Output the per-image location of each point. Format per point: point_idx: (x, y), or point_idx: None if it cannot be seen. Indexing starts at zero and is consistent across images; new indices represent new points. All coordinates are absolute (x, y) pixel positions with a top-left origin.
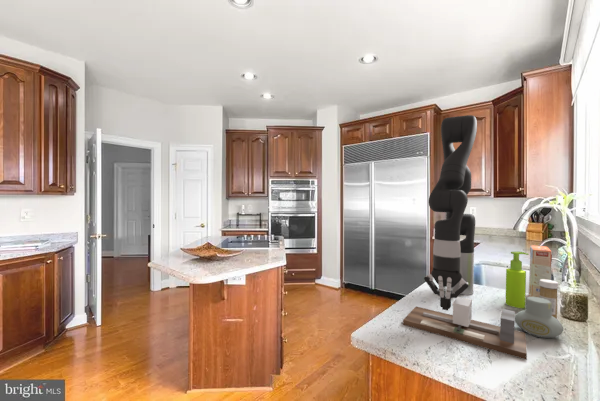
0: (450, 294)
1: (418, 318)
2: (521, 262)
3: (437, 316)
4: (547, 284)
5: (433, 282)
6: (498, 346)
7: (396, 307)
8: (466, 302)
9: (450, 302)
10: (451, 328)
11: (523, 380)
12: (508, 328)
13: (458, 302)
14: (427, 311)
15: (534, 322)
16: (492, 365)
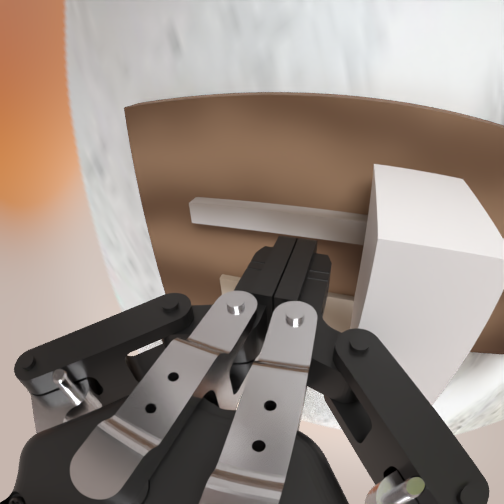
0: (305, 392)
1: (198, 262)
2: None
3: (267, 228)
4: None
5: (98, 364)
6: (493, 351)
7: (79, 134)
8: (441, 355)
9: (322, 316)
10: (350, 316)
11: (479, 410)
12: None
13: None
14: (193, 139)
15: None
16: (441, 396)
